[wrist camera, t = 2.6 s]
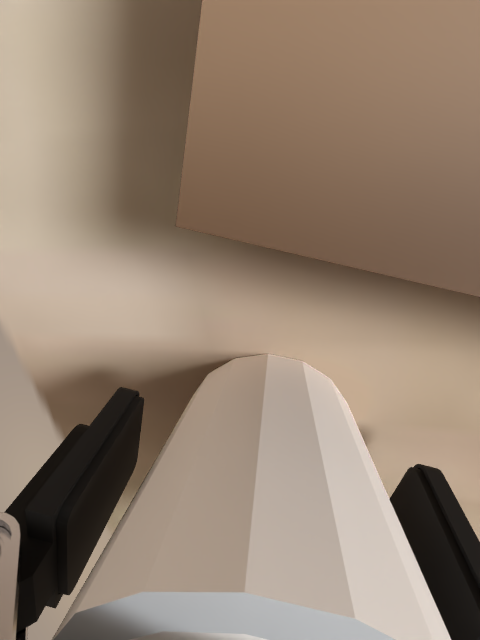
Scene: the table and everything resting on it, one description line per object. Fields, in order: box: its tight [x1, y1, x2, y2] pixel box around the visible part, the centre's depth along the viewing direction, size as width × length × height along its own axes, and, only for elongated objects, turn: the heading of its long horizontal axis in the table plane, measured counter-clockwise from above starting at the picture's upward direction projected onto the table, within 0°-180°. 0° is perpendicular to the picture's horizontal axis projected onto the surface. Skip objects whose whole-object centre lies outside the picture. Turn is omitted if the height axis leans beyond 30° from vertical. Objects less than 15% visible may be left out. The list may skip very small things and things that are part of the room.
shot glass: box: [52, 354, 451, 640], centre depth 8 cm, size 7×7×7 cm
